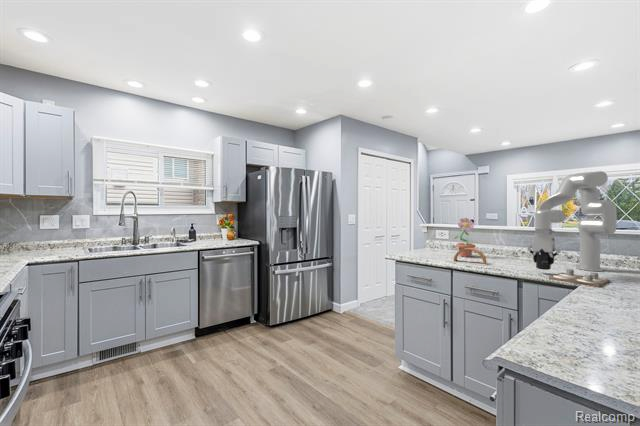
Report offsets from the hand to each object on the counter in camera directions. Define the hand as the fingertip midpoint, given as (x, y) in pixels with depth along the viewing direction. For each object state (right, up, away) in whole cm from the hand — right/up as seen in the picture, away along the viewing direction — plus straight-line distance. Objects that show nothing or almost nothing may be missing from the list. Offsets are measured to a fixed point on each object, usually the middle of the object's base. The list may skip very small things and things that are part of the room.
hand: (543, 262), depth 173 cm
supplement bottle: (0, -4, 0) cm, 4 cm away
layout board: (+7, -7, -15) cm, 18 cm away
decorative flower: (-15, -6, +63) cm, 65 cm away
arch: (-24, -6, +37) cm, 44 cm away
